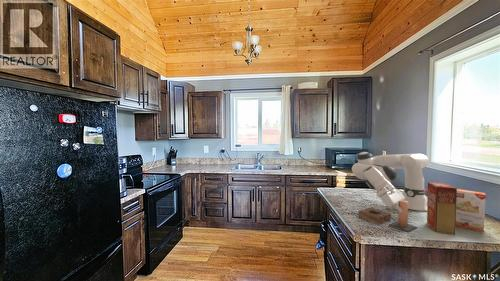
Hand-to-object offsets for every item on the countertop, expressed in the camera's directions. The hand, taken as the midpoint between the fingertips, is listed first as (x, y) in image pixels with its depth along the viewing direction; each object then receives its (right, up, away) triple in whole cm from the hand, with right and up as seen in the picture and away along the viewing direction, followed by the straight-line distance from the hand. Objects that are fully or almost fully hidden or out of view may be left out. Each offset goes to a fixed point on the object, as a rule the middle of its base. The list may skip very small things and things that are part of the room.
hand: (404, 210), depth 125 cm
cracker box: (+37, -10, +2) cm, 38 cm away
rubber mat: (0, -10, +1) cm, 10 cm away
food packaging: (+19, -10, -1) cm, 22 cm away
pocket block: (-10, -9, +12) cm, 19 cm away
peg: (0, -9, +1) cm, 9 cm away
